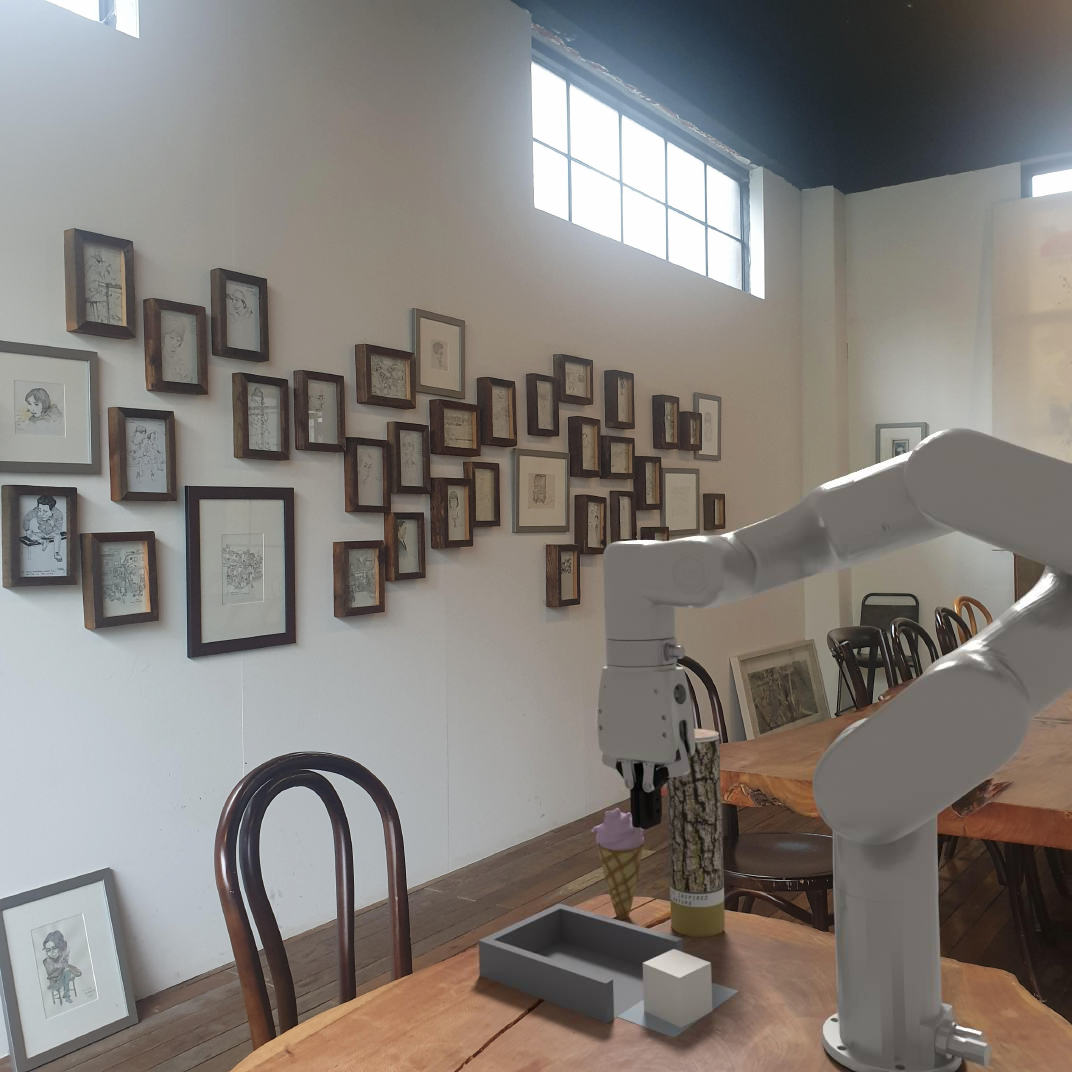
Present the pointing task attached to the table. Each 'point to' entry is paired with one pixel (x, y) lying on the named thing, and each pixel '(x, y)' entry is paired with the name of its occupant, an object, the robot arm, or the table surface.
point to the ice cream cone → (620, 858)
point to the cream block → (677, 987)
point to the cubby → (583, 964)
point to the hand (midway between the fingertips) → (646, 825)
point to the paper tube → (697, 842)
